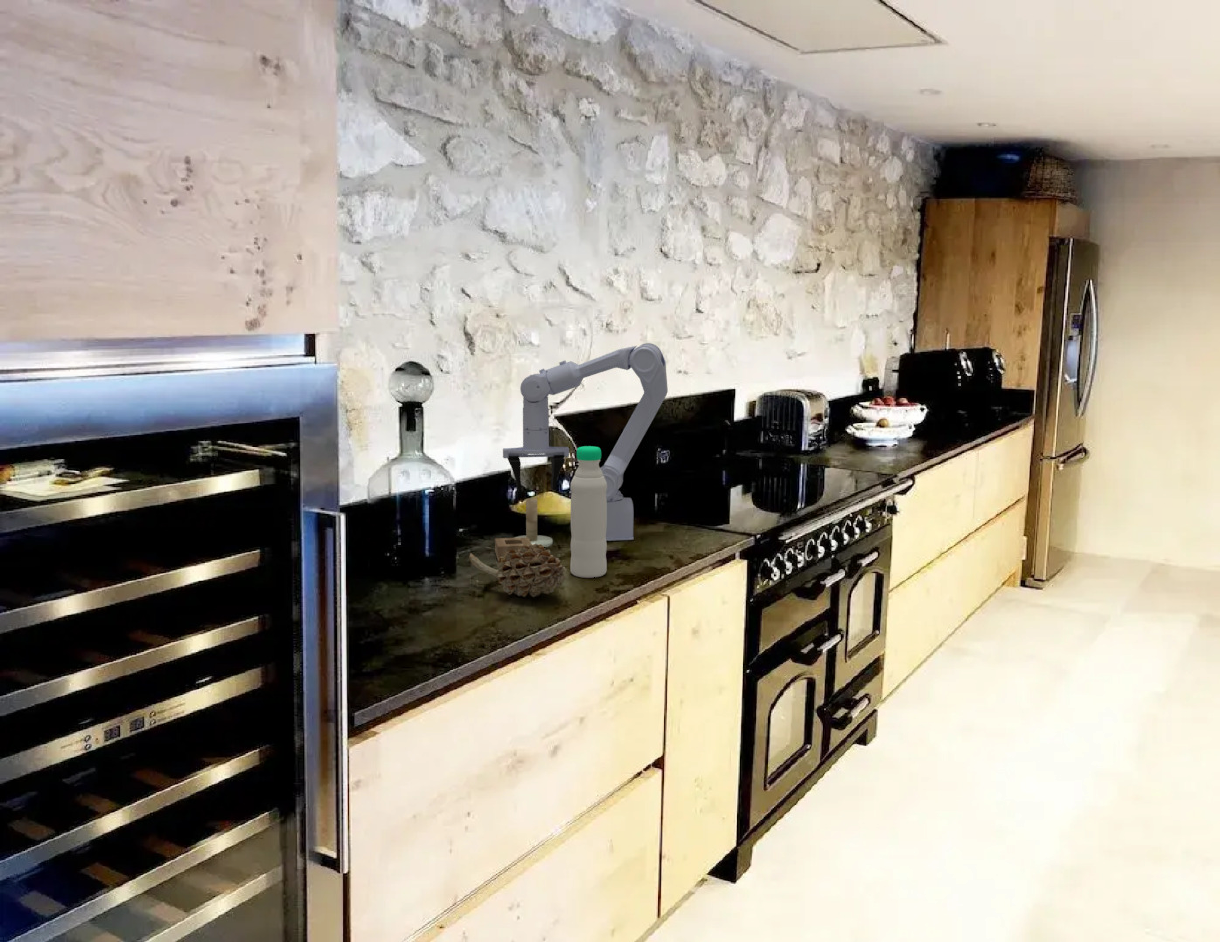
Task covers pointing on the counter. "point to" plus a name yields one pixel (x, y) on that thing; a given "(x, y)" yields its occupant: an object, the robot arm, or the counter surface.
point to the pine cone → (526, 570)
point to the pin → (531, 519)
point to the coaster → (540, 540)
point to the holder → (509, 545)
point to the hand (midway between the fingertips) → (536, 489)
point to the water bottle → (588, 515)
